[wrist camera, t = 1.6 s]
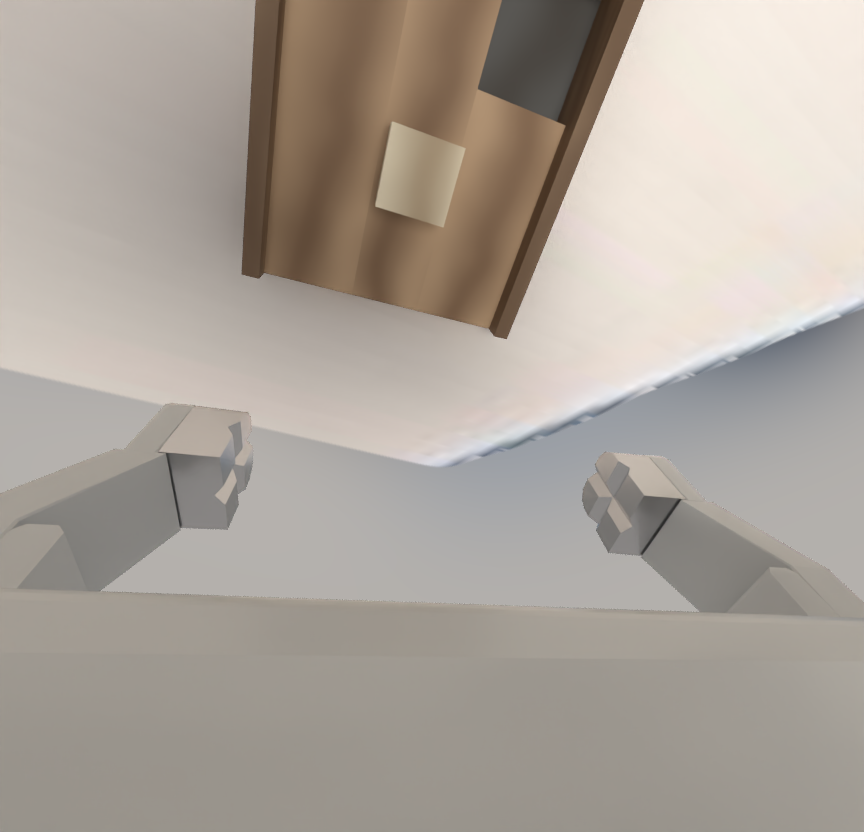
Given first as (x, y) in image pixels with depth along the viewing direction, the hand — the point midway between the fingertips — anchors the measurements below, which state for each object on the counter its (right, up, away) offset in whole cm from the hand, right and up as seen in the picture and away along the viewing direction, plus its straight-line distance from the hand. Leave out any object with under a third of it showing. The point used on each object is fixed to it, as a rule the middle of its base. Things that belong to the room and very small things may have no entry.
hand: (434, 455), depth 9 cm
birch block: (-1, +15, +15) cm, 22 cm away
